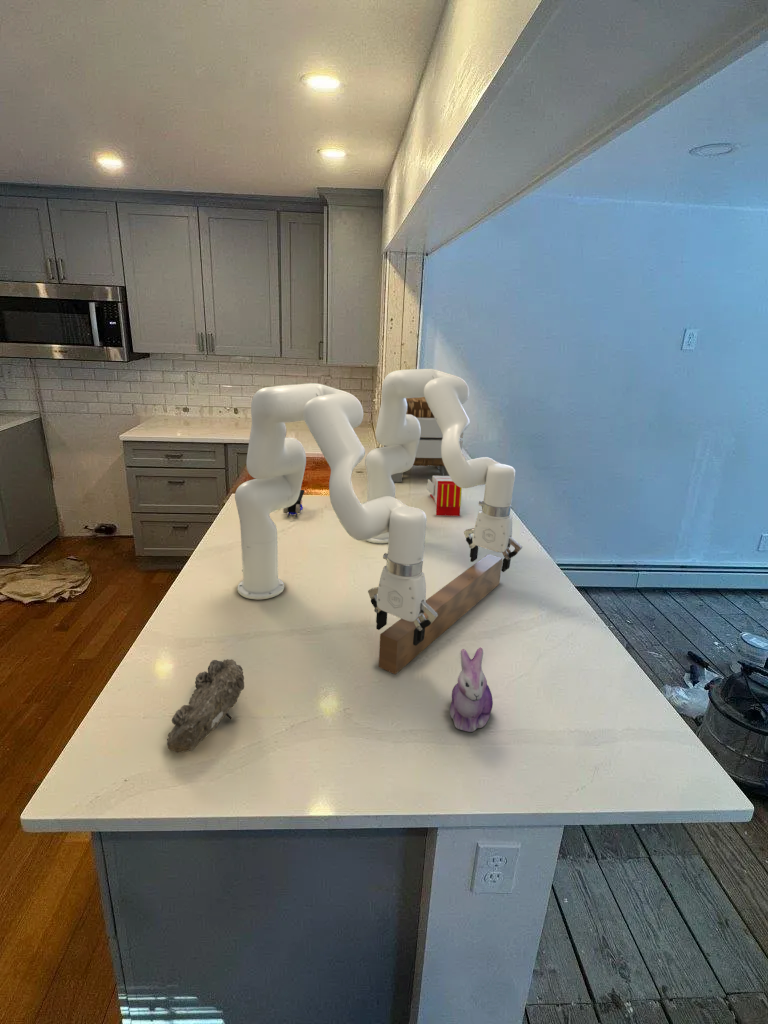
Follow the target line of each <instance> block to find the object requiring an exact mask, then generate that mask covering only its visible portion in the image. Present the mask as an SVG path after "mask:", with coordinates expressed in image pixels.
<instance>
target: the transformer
mask: <svg viewBox="0 0 768 1024" xmlns="http://www.w3.org/2000/svg"><path fill="white" fill-rule="evenodd" d="M406 401H407V412H406V414H410V415H413V416H415V417H416V418H417V419H418V421H419V423H420V427H421V435H420V440H419V444H418V449H417V453H416V457H415V461H414V464H413V466H412V467H415V466H416V467H417V466H418V467H436V468H437V470H438V469H439V473H440V474H441V475H442V476H449V474H448V472H447V470H446V468H445V466H444V463H443V460H442V454H441V444H442V438H443V434H442V432H441V429H440V427H439V426H438V424H437V422H436V420H435V418H434V416H433V414H432V412H431V410H430V408H429V406H428V404H427V401H426V399H425V397H420V398H406ZM464 432H465V431H463V432H462V433H461V435H460V440H459V443H460V448H461V451H462V452H463V442H464V441H463V440H462V439H463V438H464ZM383 447H385V446H383ZM403 475H404V472H401V473H396V474H393V475H391V478H392V480H393V482H394V483H402V482H403Z"/></svg>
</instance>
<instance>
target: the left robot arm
mask: <svg viewBox="0 0 768 1024" xmlns="http://www.w3.org/2000/svg"><path fill="white" fill-rule="evenodd" d="M250 414H251V415H250V416H251V428H250V433H249V439H248V447H247V454H246V461H245V462H246V463H245V464H246V465H245V466H246V470H247V473H248V475H250V477H251V478H253V479H249V480H246V481H245V482H243V483H241V484H240V485H239V486H238V487H237V488H236V489H235V492H234V501H235V504H236V510H237V514H238V518H239V526H240V527H239V529H240V543H241V545H240V546H241V565H242V567H241V568H242V569H241V572H242V580H241V581H240V582H238V584H237V592H238V594H239V595H240V596H241V597H243V598H246V599H249V600H267V599H271V598H274V597H277V596H279V595H281V593H283V591H284V589H285V583H284V581H283V579H281V578H279V548H278V547H279V545H278V528H277V526H276V524H275V522H274V521H273V519H272V518H271V516H270V514H271V513H275V512H276V511H277V512H278V511H281V510H283V509H284V508H287V507H290V506H292V505H294V504H295V503H296V501H297V500H298V498H299V495H300V490H302V485H303V480H304V476H305V472H306V467H307V455H306V450H305V447H304V445H303V444H302V442H301V441H300V440H298V438H295V437H291V436H288V437H287V425H286V423H294V422H295V423H296V422H303V421H304V422H305V425H306V426H307V428H308V431H309V432H310V434H311V435H312V437H313V439H314V441H315V443H316V445H317V446H318V448H319V450H320V452H321V453H322V455H323V457H324V459H325V460H326V462H327V465H328V466H329V468H330V476H329V480H328V481H329V482H328V491H329V500H330V504H331V507H332V509H333V511H334V514H335V516H336V518H337V519H338V521H339V522H340V524H341V526H342V527H343V529H344V530H345V532H346V533H347V534H348V536H350V537H351V538H352V539H354V540H356V541H360V542H361V541H363V542H364V541H366V540H368V539H371V538H373V537H376V536H378V535H381V534H383V533H389V540H388V543H387V552H384V553H383V555H382V559H384V560H385V561H386V564H385V565H384V566H383V568H382V571H381V573H380V577H379V582H378V586H375V587H371V588H369V589H368V590H367V593H368V596H369V599H370V603H371V605H372V607H373V608H374V610H373V611H374V612H375V614H376V615H375V623H376V626H375V628H376V630H378V631H379V630H382V629H383V628H384V627H385V626H387V625H388V614H389V615H391V616H394V617H397V618H399V619H404V620H407V621H410V622H414V624H415V626H416V628H415V629H414V637H413V645H415V646H416V645H418V644H419V643H420V642H422V641H423V640H424V636H425V628H426V627H427V626H429V625H430V624H432V623H433V621H434V620H435V619H436V618H437V616H438V614H437V613H436V612H435V611H434V610H433V609H432V608H431V607H430V606H429V605H428V604H427V603H426V600H427V585H426V576H425V573H424V572H423V563H424V554H425V553H424V552H425V543H426V530H427V520H428V519H427V518H428V517H427V514H426V513H425V511H424V510H422V509H421V508H418V507H416V506H409V505H408V504H406V503H404V502H403V501H401V500H400V499H397V498H396V497H395V498H394V497H391V496H384V497H380V498H377V499H374V500H370V501H367V500H366V501H365V502H362V503H361V501H360V499H359V498H358V497H357V494H356V493H355V490H354V487H353V482H352V475H353V471H354V468H355V467H357V465H359V464H360V463H361V461H362V460H363V459H364V458H365V457H366V450H365V447H364V445H363V444H362V442H361V440H360V438H359V436H358V435H357V433H356V431H355V430H354V429H356V428H358V427H359V426H360V425H361V424H362V422H363V420H364V408H363V405H362V403H361V401H360V400H359V399H358V397H356V396H355V395H353V394H352V393H350V392H348V391H345V390H342V389H338V388H336V387H332V386H329V385H325V384H322V383H316V382H315V383H313V382H312V383H310V382H309V383H299V384H285V385H274V386H266V387H263V388H259V389H258V390H257V391H256V392H255V393H254V394H253V397H252V399H251V404H250ZM424 612H425V613H426V614H427V615H428V618H427V619H426V618H425V616H424V615H423V614H424ZM418 617H419V619H420V621H421V623H420V621H419V619H418Z"/></svg>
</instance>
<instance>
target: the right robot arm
mask: <svg viewBox="0 0 768 1024" xmlns="http://www.w3.org/2000/svg"><path fill="white" fill-rule="evenodd" d="M420 397H425V399H426V401H427V404H428V406H429V408H430V410H431V412H432V414H433V416H434V418H435V420H436V422H437V424H438V426H439V427H440V429H441V432H442V434H443V438H442V444H441V454H442V460H443V463H444V466H445V468H446V470H447V472H448V474H449V476H450V477H451V479H452V480H453V482H454V483H455V484H456V485H457V486H459V487H461V488H462V489H469V488H474V487H477V486H483V485H485V486H484V493H483V500H479V501H478V506H480V507H481V510H479V511H478V513H477V516H476V520H475V523H474V527H471V528H468V529H465V530H463V534H464V537H465V541H466V543H467V544H468V547H469V549H470V550H469V558H470V559H469V560H470V563H473V562H475V561H476V560H478V554H479V548H483V549H485V550H489V551H493V552H496V553H502V555H503V557H504V558H502V566H501V573H505V572H506V571H507V570H509V569H510V567H511V560H512V559H513V558H514V557H515V556H516V555H518V554H519V552H520V551H521V550H522V549H523V546H522V545H521V543H519V542H518V541H517V540H516V539H515V538H514V537H513V517H512V516H513V515H511V508H512V501H513V495H514V494H513V493H514V487H515V480H516V469H515V468H514V467H513V466H511V465H509V464H505V463H500V462H498V461H496V460H495V459H493V458H491V457H489V456H481V457H476V458H469V459H466V456H465V455H464V453H463V450H462V451H461V448H460V443H459V440H460V439H461V438H460V435H461V433H462V432H463V431H464V432H465V431H466V430H467V429H468V428H469V426H470V423H471V420H470V418H469V416H468V414H467V412H466V410H465V409H464V406H463V404H465V403H466V402H467V401H468V400H469V397H470V388H469V385H468V383H467V382H466V381H465V379H463V378H462V377H460V376H457V375H455V374H452V373H448V372H445V371H442V370H438V369H434V368H411V369H409V368H408V369H399V370H393V371H391V372H389V373H388V374H387V375H386V376H385V377H384V379H383V381H382V385H381V401H380V406H379V411H378V416H377V421H376V426H375V436H374V437H375V440H376V442H377V443H378V444H379V445H381V446H380V447H376V448H373V449H371V450H369V451H368V453H367V454H366V455H365V459H364V465H365V471H366V480H367V481H366V482H367V483H366V486H367V488H366V490H367V491H366V502H367V501H370V500H374V499H377V498H380V497H384V496H391V497H394V498H396V485H395V482H393V480H392V478H391V475H393V474H396V473H401V472H403V473H405V472H407V471H409V470H411V469H412V467H414V466H413V464H414V461H415V457H416V453H417V449H418V444H419V440H420V435H421V427H420V423H419V421H418V419H417V418H416V417H415V416H413V415H410V414H406V412H407V401H406V398H420ZM464 432H463V433H464ZM384 446H385V447H384ZM388 540H389V533H383V534H381V535H378V536H376V537H373V538H371V539H368V540H365V541H366V542H368V543H373V544H388ZM511 546H512V547H513V548H514V549H513V551H512V550H511Z"/></svg>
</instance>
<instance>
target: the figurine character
mask: <svg viewBox="0 0 768 1024" xmlns="http://www.w3.org/2000/svg"><path fill="white" fill-rule="evenodd" d="M304 493H305V489H301V490H300V495H299V498H298V500H297V501H296V503H295V504H294V505H292V506H290V507H287V508H284V509H282V512H283V514H287V516H286V517H287V518H290V516H291V515H293V516H294V518H297V517H298V515H299V514H300V513H301V511H302V510H303V509H304V506H303V497H304V495H305V494H304Z"/></svg>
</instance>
